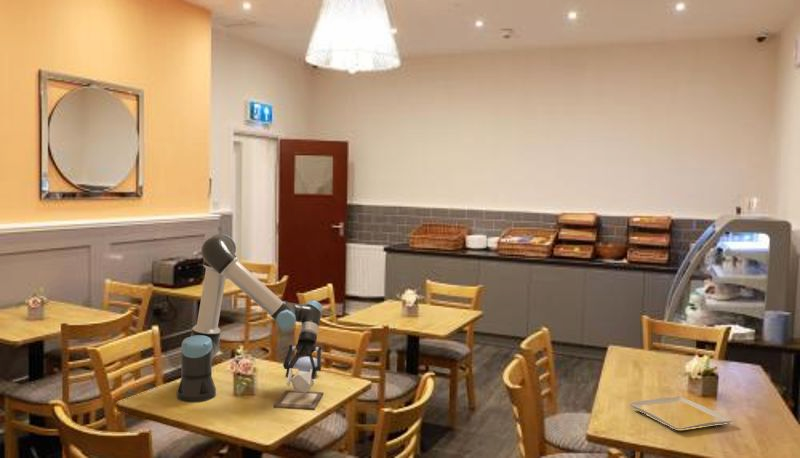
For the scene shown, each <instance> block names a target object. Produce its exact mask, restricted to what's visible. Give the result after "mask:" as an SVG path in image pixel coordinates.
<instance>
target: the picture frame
mask: <svg viewBox="0 0 800 458" xmlns="http://www.w3.org/2000/svg"><path fill="white" fill-rule="evenodd" d="M323 396H324V392H322V391H321V392H320V391H309V390H308V391H307V392H306V393H303V392H297V391H295V390H290V389H286V390H284V392H283V393H282V394H281V395H280V397H279V398H278V399H277V400H276V402H275V403H274V404H273V408H278V409H279V408H282V409H293V410H294V409H295V410H296V409H297V410H311V411H315V410H316V408H317V407H318V404H319V402H320V401H321V399H322V398H323Z"/></svg>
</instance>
